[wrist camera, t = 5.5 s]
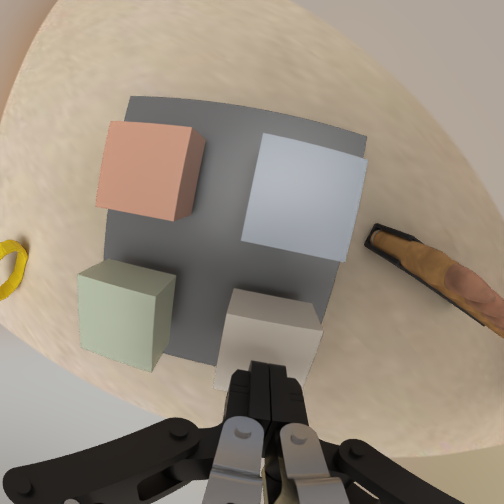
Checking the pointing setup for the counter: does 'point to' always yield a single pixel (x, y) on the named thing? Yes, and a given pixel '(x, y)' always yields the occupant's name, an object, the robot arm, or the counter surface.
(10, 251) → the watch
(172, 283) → the sage key
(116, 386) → the counter surface
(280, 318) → the cream key
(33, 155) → the counter surface
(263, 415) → the robot arm
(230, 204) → the keypad board
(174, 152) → the terracotta key
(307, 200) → the slate key
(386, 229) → the ammunition clip
